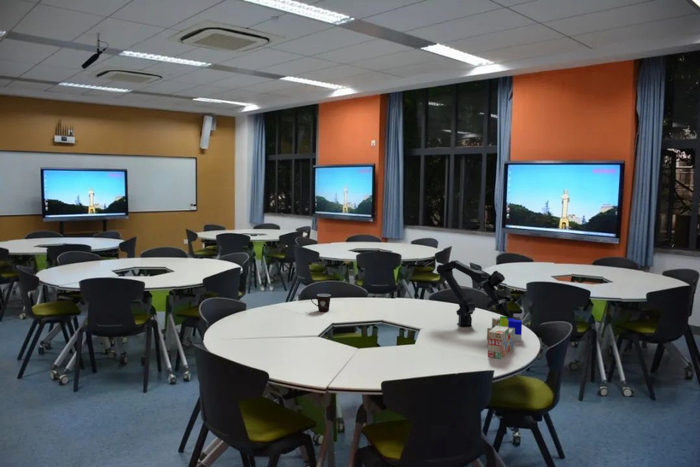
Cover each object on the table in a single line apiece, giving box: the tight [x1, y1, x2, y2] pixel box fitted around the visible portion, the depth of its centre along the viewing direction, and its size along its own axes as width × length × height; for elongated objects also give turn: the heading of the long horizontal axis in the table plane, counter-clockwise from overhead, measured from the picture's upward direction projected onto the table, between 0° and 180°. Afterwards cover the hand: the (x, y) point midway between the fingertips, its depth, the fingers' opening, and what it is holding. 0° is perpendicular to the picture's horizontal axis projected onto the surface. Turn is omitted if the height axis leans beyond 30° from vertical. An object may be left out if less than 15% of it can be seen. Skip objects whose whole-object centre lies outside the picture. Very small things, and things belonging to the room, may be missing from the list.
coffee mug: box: [310, 293, 332, 313], centre depth 328 cm, size 12×9×10 cm
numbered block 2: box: [486, 327, 493, 341], centre depth 268 cm, size 5×5×6 cm
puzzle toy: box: [499, 315, 523, 342], centre depth 274 cm, size 10×10×10 cm
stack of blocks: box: [487, 326, 514, 360], centre depth 250 cm, size 21×6×12 cm, turn 149°
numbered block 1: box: [491, 317, 500, 328], centre depth 289 cm, size 5×5×6 cm
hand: (509, 315), depth 276 cm, fingers closed
